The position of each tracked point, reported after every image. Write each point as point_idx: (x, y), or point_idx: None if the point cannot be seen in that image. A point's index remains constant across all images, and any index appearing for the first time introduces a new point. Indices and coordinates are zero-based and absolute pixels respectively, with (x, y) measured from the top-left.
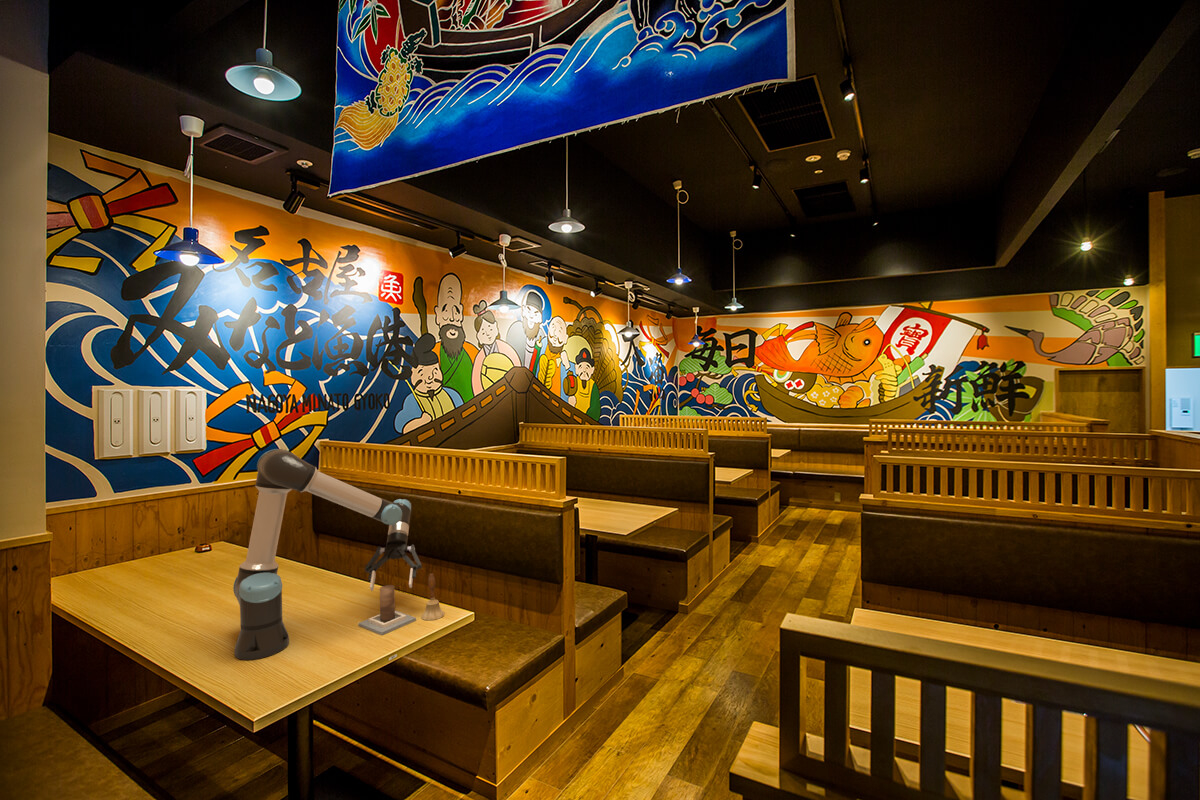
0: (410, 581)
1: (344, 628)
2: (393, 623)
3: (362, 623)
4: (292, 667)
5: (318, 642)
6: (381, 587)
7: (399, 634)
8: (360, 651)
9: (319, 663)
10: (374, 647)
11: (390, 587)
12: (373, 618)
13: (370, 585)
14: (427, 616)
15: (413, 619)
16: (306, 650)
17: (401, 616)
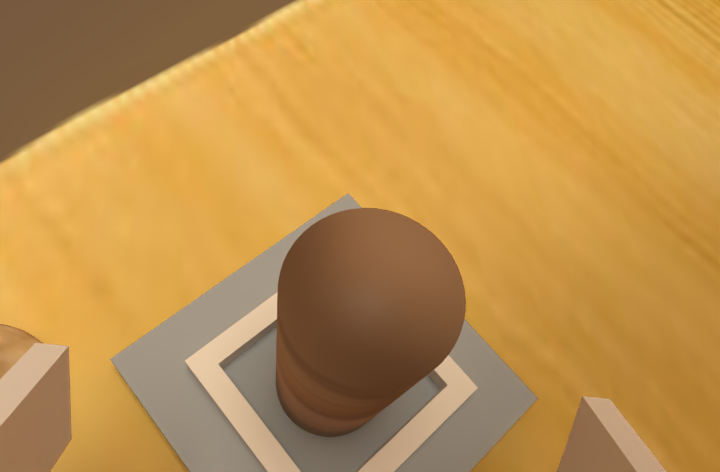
0: (21, 371)
1: (608, 385)
2: None
3: (505, 377)
4: (668, 42)
5: (676, 233)
6: (449, 322)
7: (240, 180)
8: (425, 69)
9: (573, 34)
10: (364, 83)
11: (329, 282)
12: (440, 390)
13: (618, 415)
14: (12, 347)
15: (133, 344)
16: (691, 165)
17: (223, 348)
